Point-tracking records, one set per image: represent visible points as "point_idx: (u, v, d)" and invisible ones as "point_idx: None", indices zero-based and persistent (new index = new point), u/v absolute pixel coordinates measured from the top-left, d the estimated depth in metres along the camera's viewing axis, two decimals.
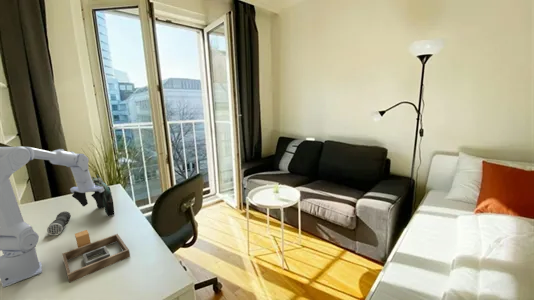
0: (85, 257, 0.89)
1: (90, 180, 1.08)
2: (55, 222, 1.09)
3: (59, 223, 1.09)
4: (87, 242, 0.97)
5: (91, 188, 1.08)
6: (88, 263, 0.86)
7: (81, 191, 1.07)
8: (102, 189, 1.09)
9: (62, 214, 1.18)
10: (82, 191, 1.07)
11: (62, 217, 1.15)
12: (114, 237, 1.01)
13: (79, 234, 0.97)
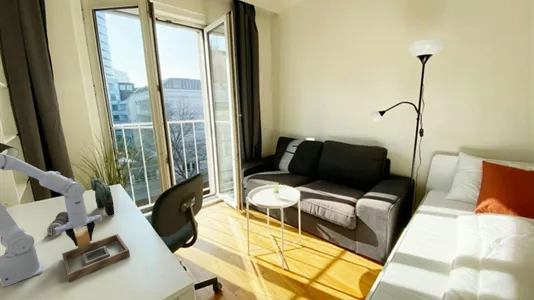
0: (85, 257, 0.89)
1: (85, 210, 0.98)
2: (55, 222, 1.09)
3: (59, 223, 1.09)
4: (87, 242, 0.97)
5: (88, 219, 0.98)
6: (88, 263, 0.86)
7: (80, 224, 0.94)
8: (101, 217, 1.01)
9: (61, 214, 1.17)
10: (81, 224, 0.95)
11: (62, 217, 1.15)
12: (114, 237, 1.01)
13: (79, 234, 0.97)
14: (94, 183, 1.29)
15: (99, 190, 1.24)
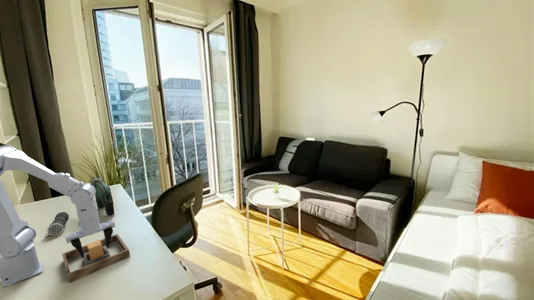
0: (85, 257, 0.89)
1: None
2: (55, 222, 1.09)
3: (59, 223, 1.09)
4: (100, 253, 0.90)
5: (100, 226, 0.90)
6: (88, 263, 0.86)
7: (92, 232, 0.86)
8: None
9: (61, 214, 1.17)
10: (93, 231, 0.86)
11: (61, 217, 1.15)
12: (114, 237, 1.01)
13: (91, 245, 0.89)
14: (94, 183, 1.29)
15: (99, 190, 1.24)
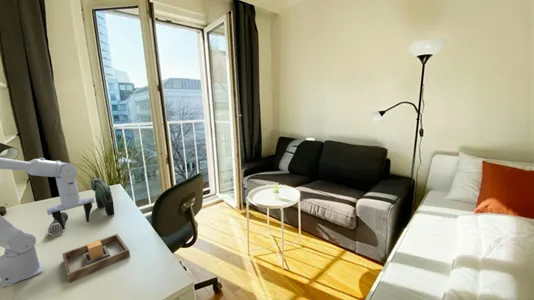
0: (85, 257, 0.89)
1: None
2: (56, 222, 1.09)
3: None
4: (100, 253, 0.90)
5: (80, 201, 0.97)
6: (88, 263, 0.86)
7: (72, 205, 0.93)
8: (93, 199, 1.01)
9: None
10: (73, 205, 0.94)
11: None
12: (114, 237, 1.01)
13: (91, 245, 0.89)
14: (94, 183, 1.29)
15: (99, 190, 1.24)
